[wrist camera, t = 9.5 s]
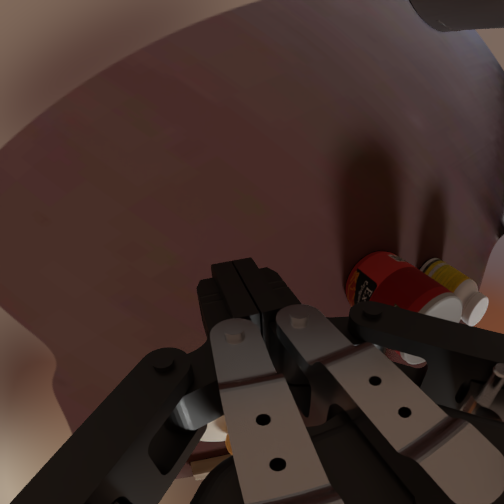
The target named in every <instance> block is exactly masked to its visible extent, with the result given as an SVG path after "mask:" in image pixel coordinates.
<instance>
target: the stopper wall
mask: <svg viewBox="0 0 504 504" xmlns="http://www.w3.org/2000/svg"><path fill="white" fill-rule="evenodd" d="M229 456H231V454H227V455H223V456H218V457H214V458H209V459H204V460H199V461H194V462H190V463H191V468H192V472H193V476H194V477H195V479H196V480H200V479H205V477H206V476H207V475H208V473H209V472H210V471H211V470H212V469H213V468H214V467H216V466H217V465H218V464H219V463H221V462H222V461H223V460H225V459H226V458H228V457H229Z"/></svg>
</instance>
